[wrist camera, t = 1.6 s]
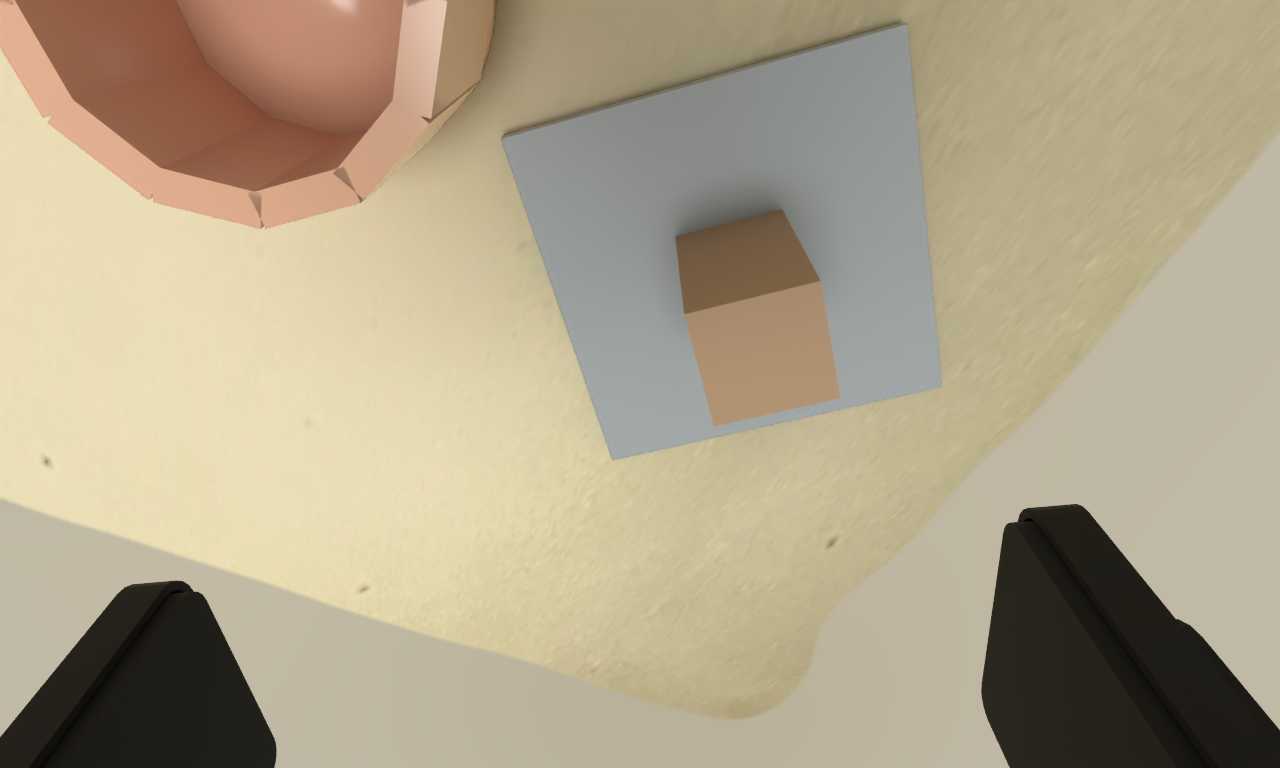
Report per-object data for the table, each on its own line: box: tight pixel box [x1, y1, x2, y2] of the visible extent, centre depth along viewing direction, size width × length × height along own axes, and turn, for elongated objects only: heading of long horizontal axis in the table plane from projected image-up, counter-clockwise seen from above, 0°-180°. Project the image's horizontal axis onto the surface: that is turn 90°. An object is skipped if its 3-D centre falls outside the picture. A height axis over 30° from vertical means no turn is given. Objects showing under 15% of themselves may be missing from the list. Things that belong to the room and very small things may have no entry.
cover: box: [501, 22, 942, 461], centre depth 27 cm, size 14×14×8 cm
